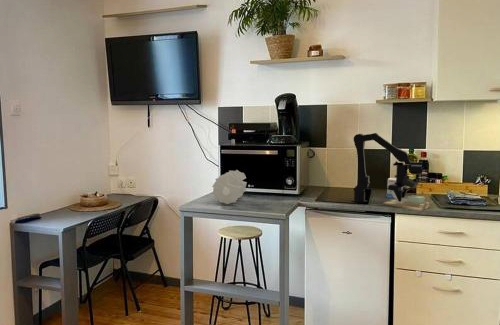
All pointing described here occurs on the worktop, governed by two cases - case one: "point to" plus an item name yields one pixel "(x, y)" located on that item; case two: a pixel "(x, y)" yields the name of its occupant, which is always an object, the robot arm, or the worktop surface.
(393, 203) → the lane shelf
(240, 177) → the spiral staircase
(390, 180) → the ink box
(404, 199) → the sage block
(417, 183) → the robot arm
